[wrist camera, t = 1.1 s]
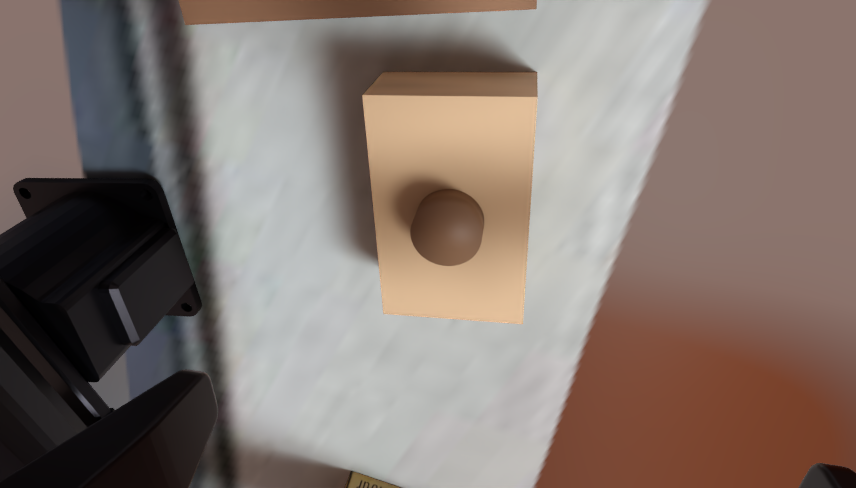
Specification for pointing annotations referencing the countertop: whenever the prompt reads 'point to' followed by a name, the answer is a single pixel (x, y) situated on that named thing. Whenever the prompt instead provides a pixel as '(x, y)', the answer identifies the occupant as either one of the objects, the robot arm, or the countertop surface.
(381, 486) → the shoe polish box
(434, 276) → the oak lid
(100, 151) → the countertop surface
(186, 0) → the walnut box
